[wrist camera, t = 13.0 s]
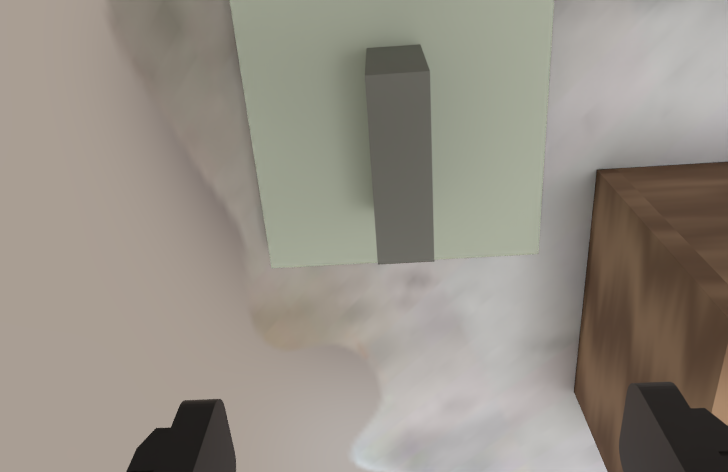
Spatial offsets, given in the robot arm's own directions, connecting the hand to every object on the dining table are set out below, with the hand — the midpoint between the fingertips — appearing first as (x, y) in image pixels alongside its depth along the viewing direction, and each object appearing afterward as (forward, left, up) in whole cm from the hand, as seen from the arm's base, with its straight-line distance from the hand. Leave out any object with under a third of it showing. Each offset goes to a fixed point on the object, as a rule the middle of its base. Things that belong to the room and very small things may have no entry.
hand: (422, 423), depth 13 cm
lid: (0, 0, -21) cm, 21 cm away
